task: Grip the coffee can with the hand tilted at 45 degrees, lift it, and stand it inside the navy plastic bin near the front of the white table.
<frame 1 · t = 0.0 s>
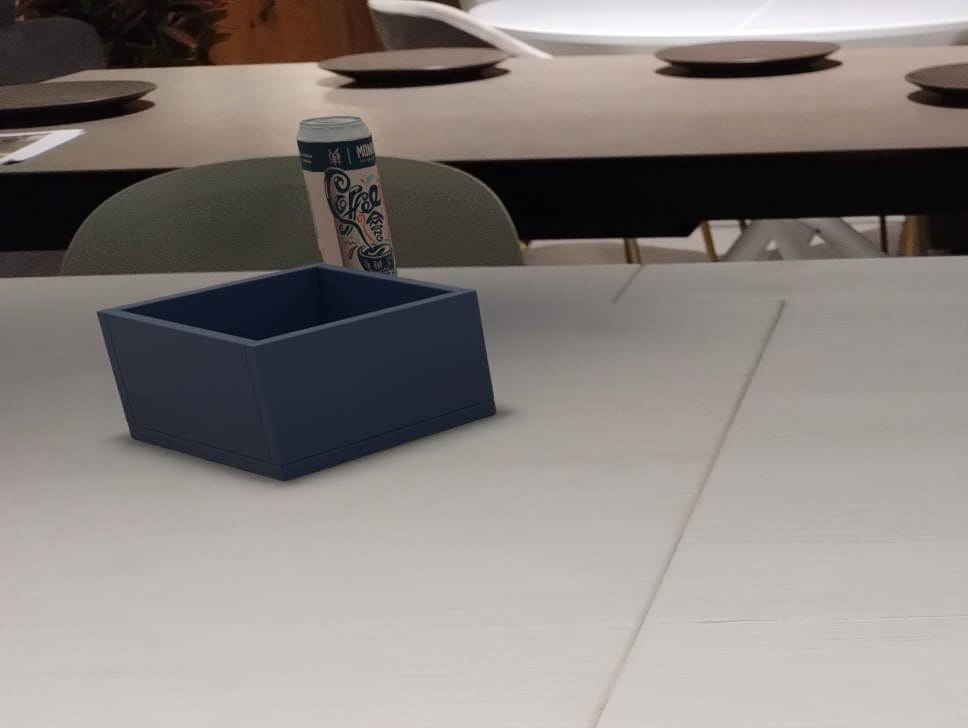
bin: (317, 425, 92), on the table
coffee can: (367, 304, 118), on the table
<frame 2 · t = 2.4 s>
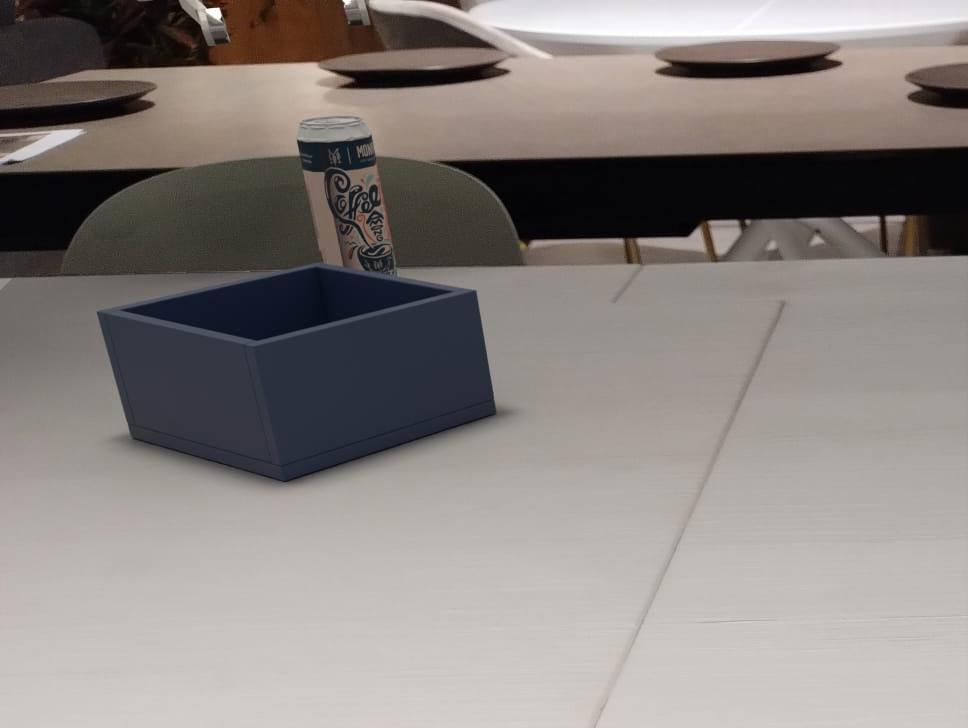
hand: (288, 30, 116), 17 cm above the table, tool tilted 40°, fingers open, 8 cm apart
nothing on the table moved.
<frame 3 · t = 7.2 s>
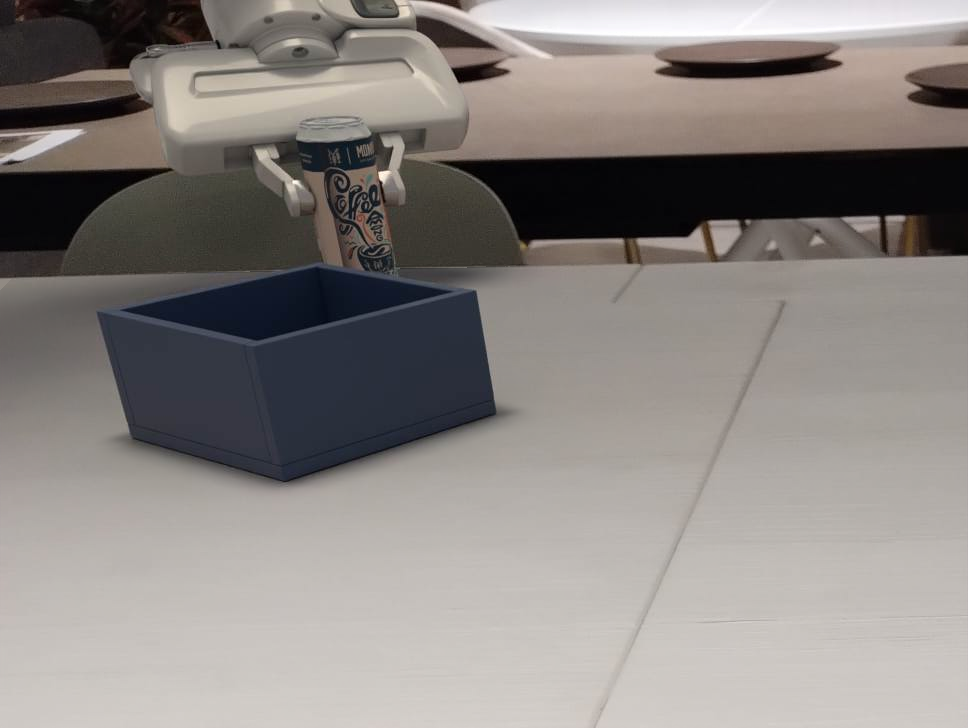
hand: (350, 205, 114), 7 cm above the table, tool tilted 45°, fingers closed on coffee can, 5 cm apart
coffee can: (367, 304, 118), on the table, touching gripper
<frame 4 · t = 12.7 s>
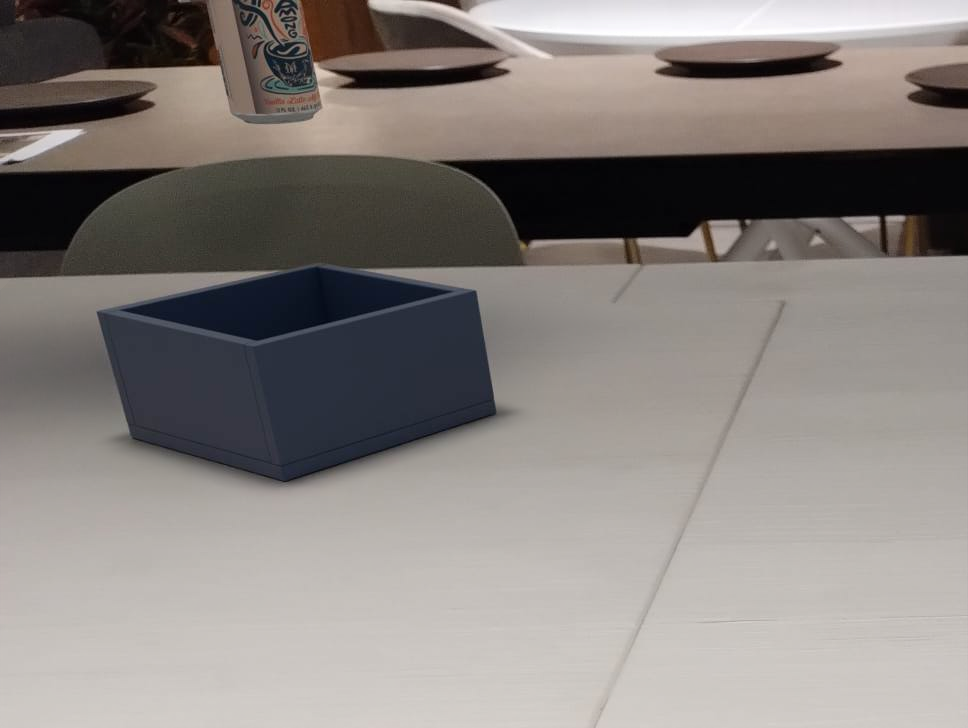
coffee can: (279, 123, 94), point 14 cm above the table, touching gripper
when the fingers open (7 cm above the table, at t = 18.3 s): coffee can stays where it is, resting on bin.
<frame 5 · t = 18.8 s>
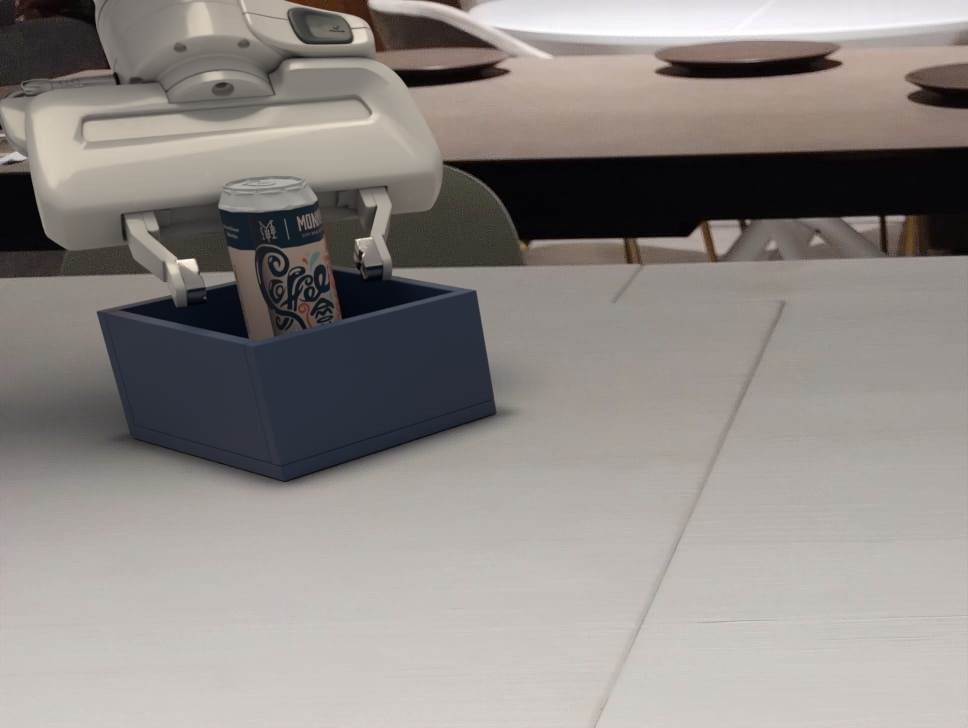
hand: (287, 287, 88), 8 cm above the table, tool tilted 45°, fingers open, 8 cm apart
coffee can: (314, 414, 92), point 1 cm above the table, touching bin
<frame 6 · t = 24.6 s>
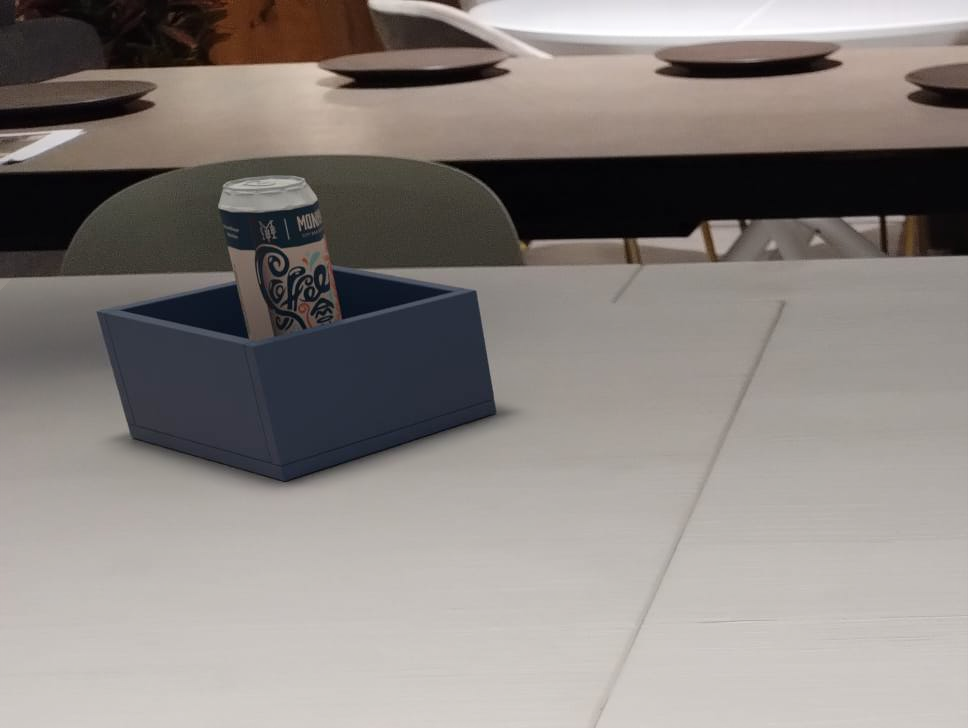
nothing on the table moved.
at the end: coffee can inside the target area in the bin (0.0 cm from its centre), point 0.6 cm above the bin's base; coffee can tilted 0°; the gripper is holding nothing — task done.
